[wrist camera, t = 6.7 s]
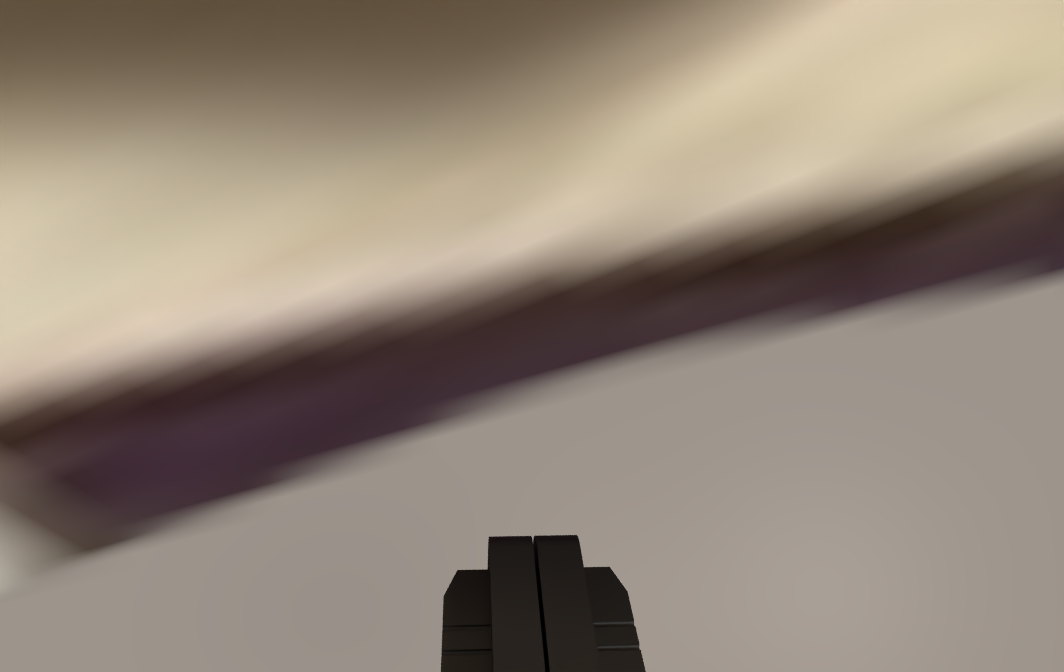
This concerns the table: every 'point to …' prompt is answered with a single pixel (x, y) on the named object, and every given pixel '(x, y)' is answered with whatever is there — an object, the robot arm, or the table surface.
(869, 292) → the table surface
